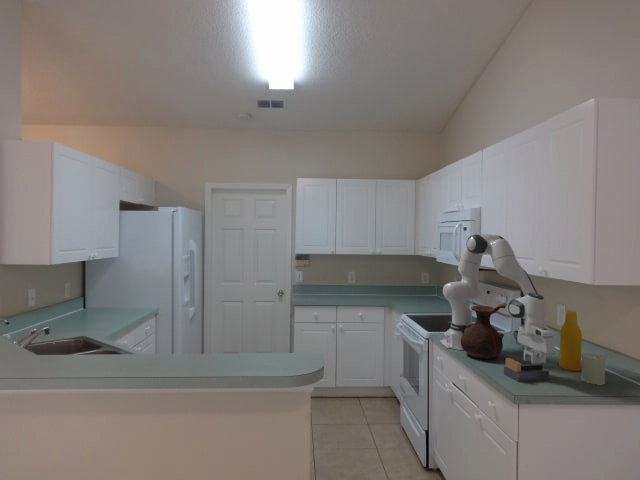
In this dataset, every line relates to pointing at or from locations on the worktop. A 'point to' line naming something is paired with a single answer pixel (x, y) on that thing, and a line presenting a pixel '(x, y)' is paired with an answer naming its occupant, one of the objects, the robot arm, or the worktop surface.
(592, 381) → the can
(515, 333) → the mortar and pestle
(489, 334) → the jug
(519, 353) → the worktop surface
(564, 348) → the beer bottle
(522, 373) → the base
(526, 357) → the notched grey block
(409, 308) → the worktop surface
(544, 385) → the worktop surface
